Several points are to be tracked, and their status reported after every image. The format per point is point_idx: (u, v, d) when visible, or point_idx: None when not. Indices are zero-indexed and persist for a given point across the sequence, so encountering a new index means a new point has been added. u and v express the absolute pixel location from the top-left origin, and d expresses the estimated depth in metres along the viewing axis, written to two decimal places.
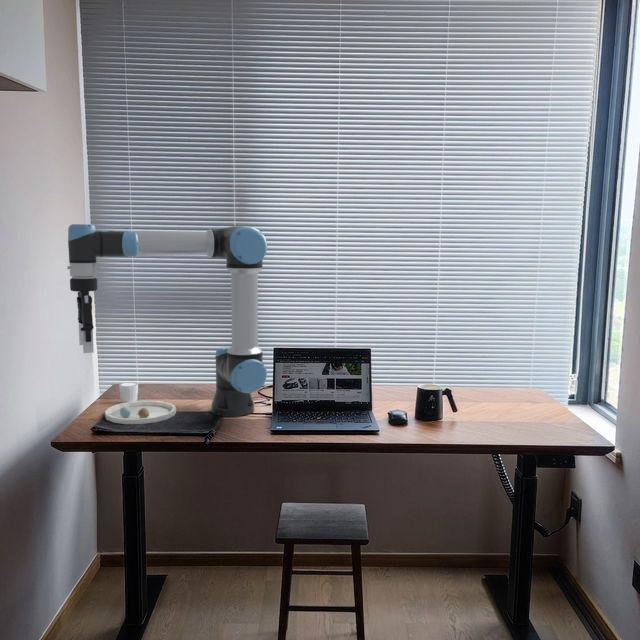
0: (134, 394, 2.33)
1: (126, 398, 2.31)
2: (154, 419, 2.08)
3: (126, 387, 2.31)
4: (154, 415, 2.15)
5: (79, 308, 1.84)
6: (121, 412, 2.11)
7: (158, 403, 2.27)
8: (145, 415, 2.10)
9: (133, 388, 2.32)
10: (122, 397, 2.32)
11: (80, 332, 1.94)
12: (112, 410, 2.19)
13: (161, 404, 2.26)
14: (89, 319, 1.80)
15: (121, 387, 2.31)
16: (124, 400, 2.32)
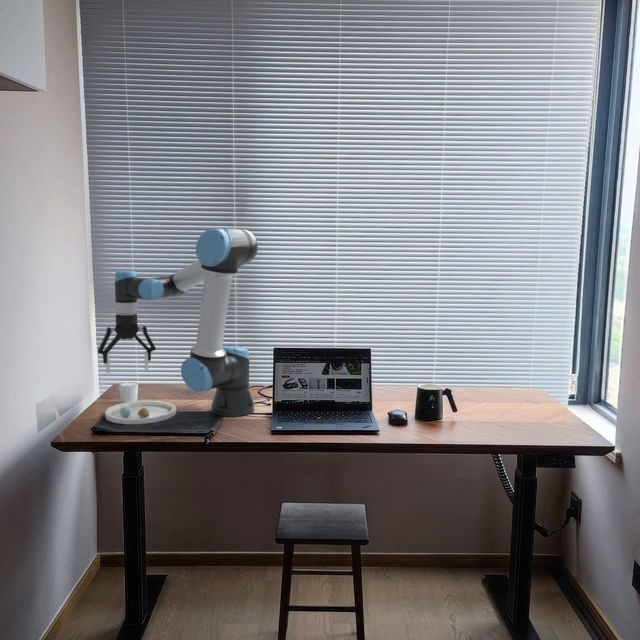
0: (134, 394, 2.33)
1: (126, 398, 2.31)
2: (154, 419, 2.08)
3: (126, 387, 2.31)
4: (154, 415, 2.15)
5: (116, 336, 2.32)
6: (121, 412, 2.11)
7: (158, 403, 2.27)
8: (145, 415, 2.10)
9: (133, 388, 2.32)
10: (122, 397, 2.32)
11: None
12: (112, 410, 2.19)
13: (161, 404, 2.26)
14: (100, 345, 2.28)
15: (121, 387, 2.31)
16: (124, 400, 2.32)
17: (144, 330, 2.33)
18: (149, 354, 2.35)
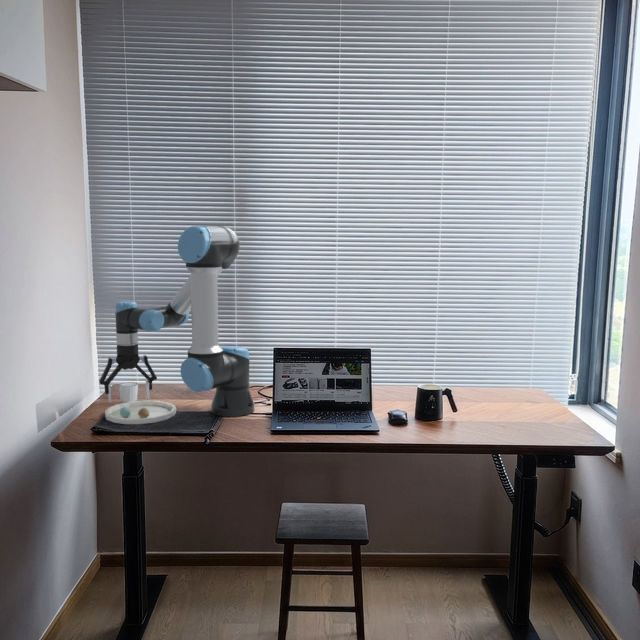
0: (134, 394, 2.33)
1: (126, 398, 2.31)
2: (154, 419, 2.08)
3: (126, 387, 2.31)
4: (154, 415, 2.15)
5: (118, 367, 2.33)
6: (121, 412, 2.11)
7: (158, 403, 2.27)
8: (145, 415, 2.10)
9: (133, 388, 2.32)
10: (122, 397, 2.32)
11: (146, 387, 2.38)
12: (112, 410, 2.19)
13: (161, 404, 2.26)
14: (102, 376, 2.29)
15: (121, 387, 2.31)
16: (124, 400, 2.32)
17: (145, 360, 2.34)
18: (150, 383, 2.37)
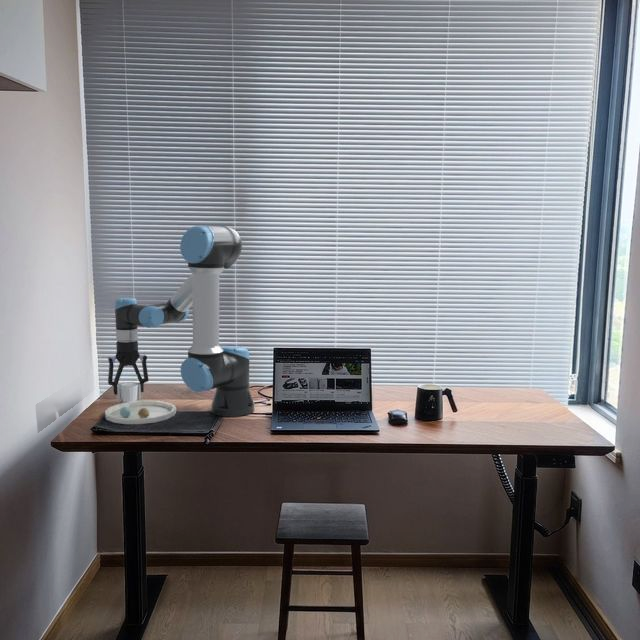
0: (134, 394, 2.33)
1: (126, 398, 2.31)
2: (154, 419, 2.08)
3: (126, 387, 2.31)
4: (154, 415, 2.15)
5: (120, 365, 2.33)
6: (121, 412, 2.11)
7: (158, 403, 2.27)
8: (145, 415, 2.10)
9: (133, 388, 2.32)
10: (122, 397, 2.32)
11: None
12: (112, 410, 2.19)
13: (161, 404, 2.26)
14: (108, 377, 2.30)
15: (121, 387, 2.31)
16: (124, 400, 2.32)
17: (144, 359, 2.34)
18: (142, 385, 2.35)
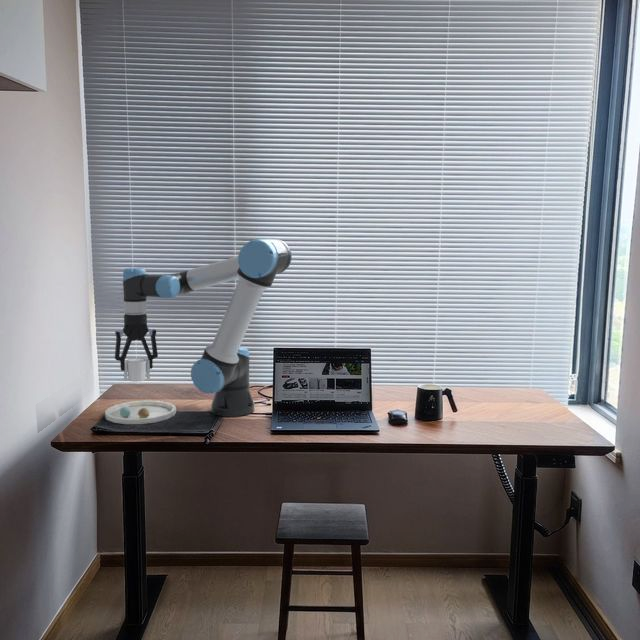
0: (142, 370, 2.19)
1: (134, 375, 2.18)
2: (154, 419, 2.08)
3: (134, 363, 2.17)
4: (154, 415, 2.15)
5: (128, 339, 2.20)
6: (121, 412, 2.11)
7: (158, 403, 2.27)
8: (145, 415, 2.10)
9: (141, 364, 2.18)
10: (130, 373, 2.18)
11: (146, 366, 2.23)
12: (112, 410, 2.19)
13: (161, 404, 2.26)
14: (115, 352, 2.16)
15: (129, 363, 2.17)
16: (132, 377, 2.18)
17: (153, 334, 2.20)
18: (151, 362, 2.22)
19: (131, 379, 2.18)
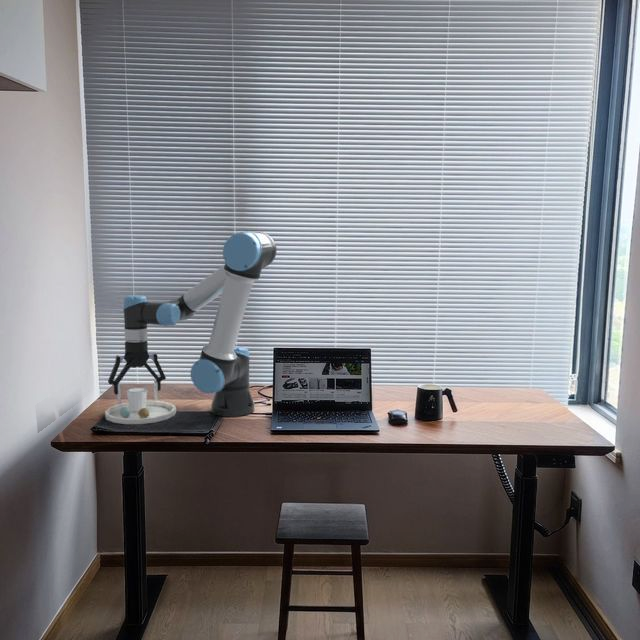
0: (143, 400, 2.20)
1: (135, 405, 2.19)
2: (154, 419, 2.08)
3: (134, 393, 2.18)
4: (154, 415, 2.15)
5: (126, 365, 2.21)
6: (121, 412, 2.11)
7: (158, 403, 2.27)
8: (145, 415, 2.10)
9: (142, 394, 2.19)
10: (130, 404, 2.20)
11: (154, 388, 2.25)
12: (112, 410, 2.19)
13: (161, 404, 2.26)
14: (110, 375, 2.17)
15: (129, 393, 2.19)
16: (132, 407, 2.19)
17: (155, 358, 2.21)
18: (159, 383, 2.24)
19: (132, 409, 2.20)
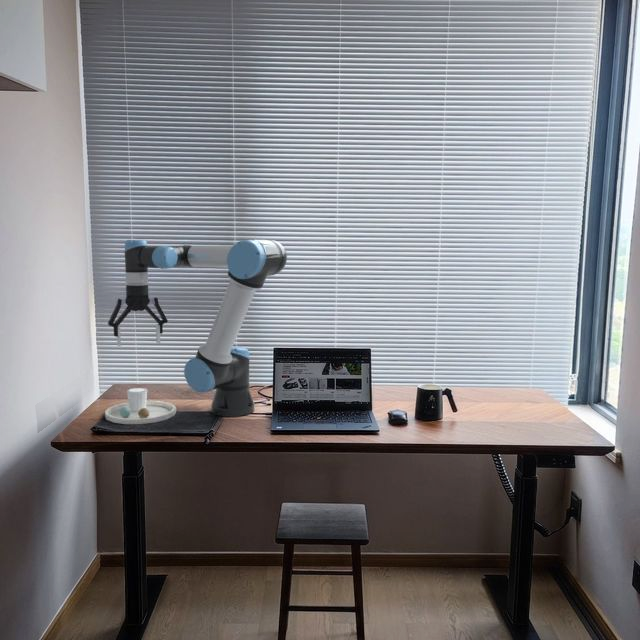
0: (143, 400, 2.20)
1: (135, 405, 2.19)
2: (154, 419, 2.08)
3: (135, 393, 2.18)
4: (154, 415, 2.15)
5: (127, 309, 2.23)
6: (121, 412, 2.11)
7: (158, 403, 2.27)
8: (145, 415, 2.10)
9: (142, 394, 2.19)
10: (130, 404, 2.20)
11: (156, 331, 2.28)
12: (112, 410, 2.19)
13: (161, 404, 2.26)
14: (111, 317, 2.19)
15: (129, 393, 2.19)
16: (132, 407, 2.19)
17: (155, 301, 2.25)
18: (161, 327, 2.27)
19: (132, 409, 2.20)
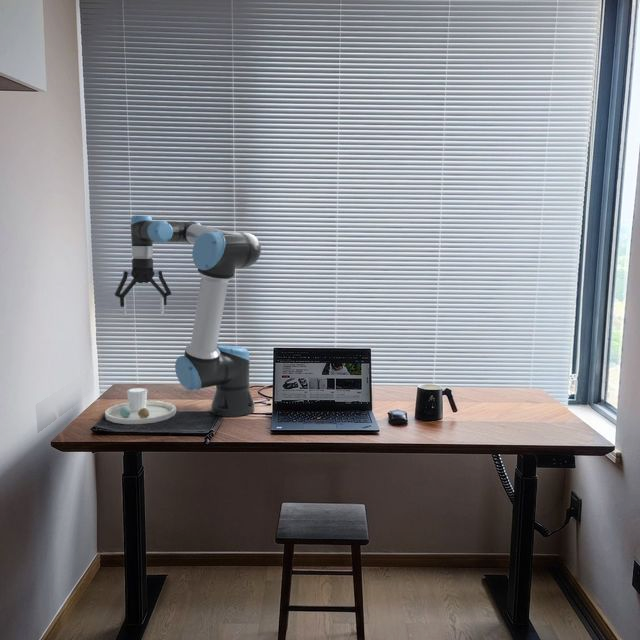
0: (143, 400, 2.20)
1: (135, 405, 2.19)
2: (154, 419, 2.08)
3: (135, 393, 2.18)
4: (154, 415, 2.15)
5: (133, 281, 2.36)
6: (121, 412, 2.11)
7: (158, 403, 2.27)
8: (145, 415, 2.10)
9: (142, 394, 2.19)
10: (130, 404, 2.20)
11: (160, 303, 2.41)
12: (112, 410, 2.19)
13: (161, 404, 2.26)
14: (117, 288, 2.32)
15: (129, 393, 2.19)
16: (132, 407, 2.19)
17: (160, 274, 2.37)
18: (165, 298, 2.40)
19: (132, 409, 2.20)
